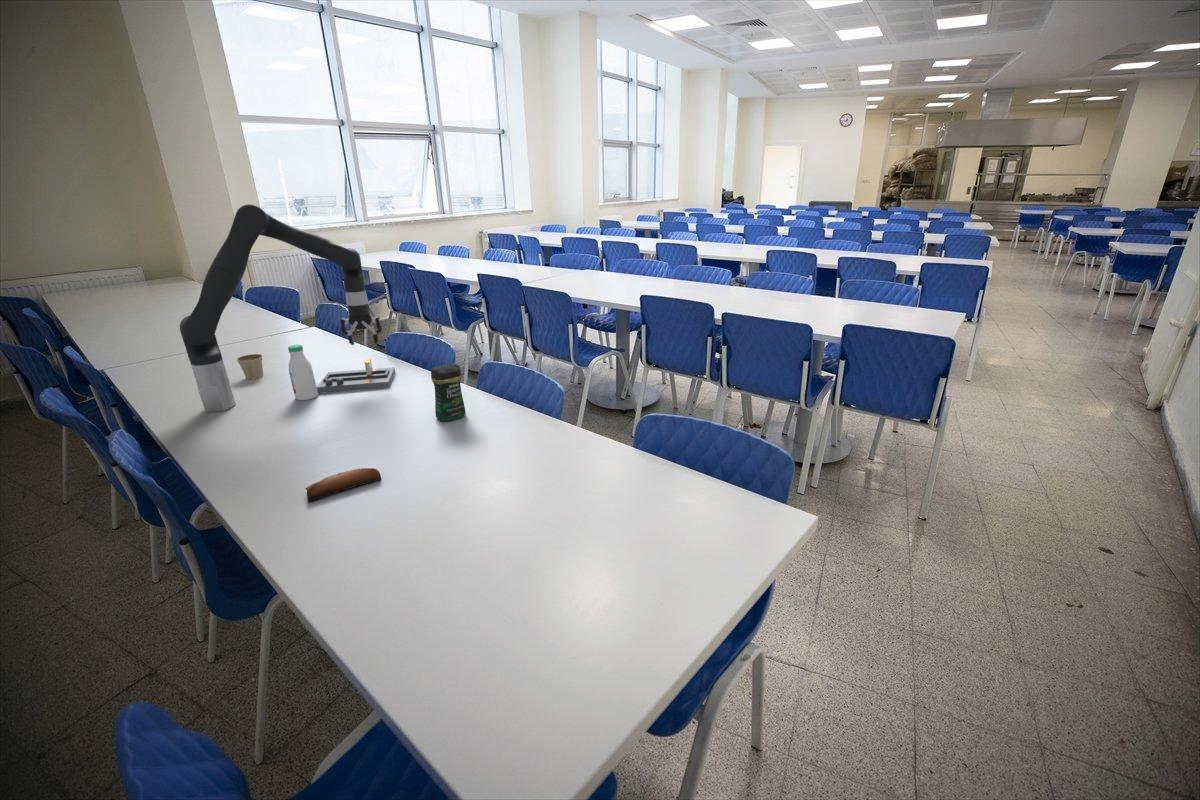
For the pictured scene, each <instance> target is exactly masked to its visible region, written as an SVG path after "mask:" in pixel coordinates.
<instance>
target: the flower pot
mask: <svg viewBox="0 0 1200 800" xmlns="http://www.w3.org/2000/svg"><path fill="white" fill-rule="evenodd" d="M263 356H264V355H263V354H262V353H259V354H258V353H252V354H245V355H241V356H238V357H237V358H235V360H236V362H237V363H238V365H239V366H240V367H241V370H242V372H243V374H244V376H245V379H246V380H253V379H255V380H256V379H260V378H263V376H264V369H263Z"/></svg>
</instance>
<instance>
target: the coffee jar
mask: <svg viewBox="0 0 1200 800" xmlns="http://www.w3.org/2000/svg"><path fill="white" fill-rule="evenodd" d="M462 376H463V375H462V371H461V367H460V365H459V364H458V363H455V362H452V363H447V364H442V365H438V366H433V367H431V369H430V378H431V382H432V384H433V387H434V397H435V398H434V400H435V401H434V405H435V406H434V407H435V409H434V410H435V411H434V413H435V417H436V419H437V420H439V421H441V422H451V421H455V420H458V419H460V418H463V417H465V416H466V414H467V413H466V406H465V401H464V398H463V394H462V387H461V380H462Z"/></svg>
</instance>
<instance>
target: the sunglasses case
mask: <svg viewBox="0 0 1200 800" xmlns="http://www.w3.org/2000/svg"><path fill="white" fill-rule="evenodd" d="M378 480H380V481H382V475H381V473H380V471H379V470H378V469H377V468H374V467H373V468H372V467H368V468H367V467H364V468H363V467H362V468H355V469H350V470H346V471H343V472H338V473H336V474H332V475H330V476H327V477H325V478H322V479H320V480H319V481H317V482H313V483H311V484H309V485H308V486H307V487H305V488H304V490H305V489H306V490H307V493H306V496H307V502H308V503H310V502H312V501H315V500H319V499H322V498H324V497H326V496H328V495H332V494H334V493H337V492H341V491H345V490H349V489H351V488H353V487H357V486H362V485H365V484H368V483H372V482H374V481H375V482H376V481H378ZM309 501H310V502H309Z"/></svg>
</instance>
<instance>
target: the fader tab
mask: <svg viewBox="0 0 1200 800" xmlns="http://www.w3.org/2000/svg"><path fill="white" fill-rule="evenodd" d="M364 368H365V370H366V373H367V376H372V375H373V369H374V368H373V364H372V359H371V358H368V359H366V360H365V361H364Z"/></svg>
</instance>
